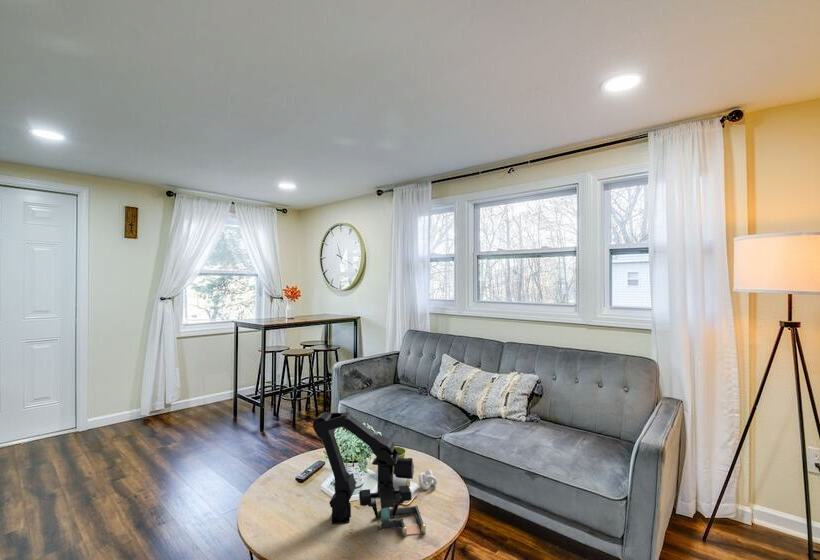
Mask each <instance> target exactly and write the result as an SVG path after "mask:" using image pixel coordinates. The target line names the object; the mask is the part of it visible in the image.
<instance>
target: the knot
mask: <svg viewBox="0 0 820 560" xmlns="http://www.w3.org/2000/svg"><path fill="white" fill-rule="evenodd" d="M418 482H419V485H420V486H421V488H422V489H423V490H426V491H428V490H430V488H431V486H433V487H434V486H436V485H437V484H438V480H437V478H436V477H435V476H434V475H433V471H432V470H431V469H428V470H426V471H425V472H420V473H419V475H418ZM426 483H427V484H426Z"/></svg>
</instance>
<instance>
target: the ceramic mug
mask: <svg viewBox="0 0 820 560" xmlns="http://www.w3.org/2000/svg"><path fill="white" fill-rule="evenodd" d="M406 485H408V486H409V487H410V488H411V479H407V478H397V477H395V474H393V487H394V490H397V489H399V486H406Z"/></svg>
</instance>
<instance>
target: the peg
mask: <svg viewBox="0 0 820 560" xmlns="http://www.w3.org/2000/svg"><path fill="white" fill-rule="evenodd" d="M390 509H391V507H387V508H382V507H381V506H380V510H381V518H380V519H381V520H382V521H388V520H391V519H390Z"/></svg>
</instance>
